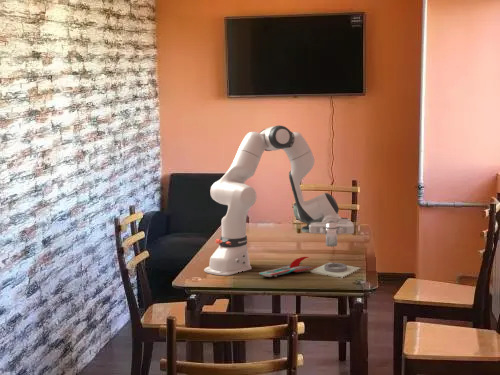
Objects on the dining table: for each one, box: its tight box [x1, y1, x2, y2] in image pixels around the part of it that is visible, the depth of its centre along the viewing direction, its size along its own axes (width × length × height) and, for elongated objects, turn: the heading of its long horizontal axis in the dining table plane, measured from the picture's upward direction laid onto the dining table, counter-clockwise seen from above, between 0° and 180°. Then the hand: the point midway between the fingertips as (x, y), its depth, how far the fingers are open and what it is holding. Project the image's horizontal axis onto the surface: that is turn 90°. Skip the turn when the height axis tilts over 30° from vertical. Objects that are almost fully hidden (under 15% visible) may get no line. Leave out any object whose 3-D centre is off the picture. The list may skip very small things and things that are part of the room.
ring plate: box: [310, 262, 361, 279], centre depth 321 cm, size 16×16×2 cm
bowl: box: [292, 202, 323, 233], centre depth 398 cm, size 20×19×15 cm
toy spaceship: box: [257, 256, 318, 278], centre depth 317 cm, size 27×11×5 cm, turn 128°
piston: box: [325, 222, 338, 248], centre depth 322 cm, size 5×5×10 cm
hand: (331, 232), depth 321 cm, fingers closed on piston, 5 cm apart
